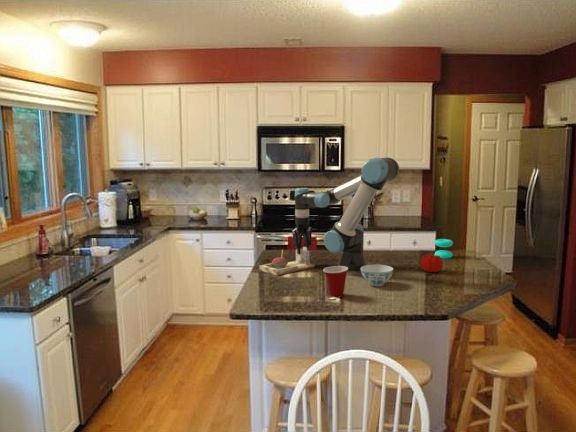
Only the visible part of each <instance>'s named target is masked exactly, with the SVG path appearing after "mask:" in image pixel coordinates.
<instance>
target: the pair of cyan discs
mask: <svg viewBox="0 0 576 432" xmlns="http://www.w3.org/2000/svg"><path fill="white" fill-rule="evenodd" d="M434 244H435V246H437V247H440V248H450V247H452V246H453V244H454V242H453V240H452V239H447V238H438V239H436V240H434ZM433 255H434V256H436V255H438V256H440V258H441V260H442V259H444V260H445V259H447V260H448V259H451V258H452V257H453V256H454V255H453V253H452V251H449V250H445V249H444V250H443V249H442V250H441V249H439V250H436V251H435V253H434V254H433Z"/></svg>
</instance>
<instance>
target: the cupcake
mask: <svg viewBox="0 0 576 432" xmlns="http://www.w3.org/2000/svg"><path fill="white" fill-rule="evenodd" d="M283 254H284V249H281V255H280V257H275V258H273V259H272V261H271V263H272V265H274V267H275V269H281V268H285V267H286V265H287V264H288V262H289V260H288V259H287V258H285V257H283Z"/></svg>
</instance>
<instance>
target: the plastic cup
mask: <svg viewBox="0 0 576 432" xmlns="http://www.w3.org/2000/svg"><path fill="white" fill-rule="evenodd" d="M348 270H349V269H348V267H346V266H338V265H332V266H328V267H324V268H323V270H322V271H323V272H324V275H325V278H326V285H327V289H328V294H329V296H330V297H333V298H334V297H338V298H339V297H342V296H343V295H344V290H345V285H346V279H347V275H348V274H347V273H348Z"/></svg>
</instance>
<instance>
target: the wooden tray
mask: <svg viewBox="0 0 576 432" xmlns="http://www.w3.org/2000/svg"><path fill="white" fill-rule="evenodd" d="M310 257H311V256H310V250H308V251H306V250H303V249H302V260H298V254H297V249H295V260H292V261H288V264H287V265H286V267H285V268H281V269H275V267H274V265H272V262H270V263H266V264H265V263H264V264H260V265H258V270H259V271H261V272H265V273H267V274H271V275H274V276H281V275H284V274H290V273H293V272H297V271H298V272H299V271H302V270H306V269H307V270H308V269H311V268H315V267H316V265H315V264H312V263H311V261H310V260H311V258H310Z"/></svg>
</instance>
